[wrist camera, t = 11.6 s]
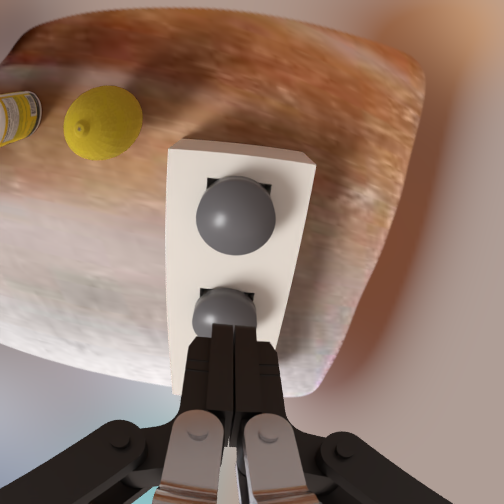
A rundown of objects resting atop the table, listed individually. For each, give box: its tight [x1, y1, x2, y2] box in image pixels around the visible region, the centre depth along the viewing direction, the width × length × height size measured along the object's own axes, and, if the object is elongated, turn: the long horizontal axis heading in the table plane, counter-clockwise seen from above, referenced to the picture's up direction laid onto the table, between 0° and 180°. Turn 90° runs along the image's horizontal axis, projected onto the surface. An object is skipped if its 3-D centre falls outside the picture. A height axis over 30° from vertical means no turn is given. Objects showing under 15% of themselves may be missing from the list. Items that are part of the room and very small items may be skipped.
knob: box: [196, 176, 276, 256], centre depth 23 cm, size 5×5×6 cm
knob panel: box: [165, 139, 316, 395], centre depth 28 cm, size 26×10×5 cm, turn 173°
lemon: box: [63, 86, 143, 160], centre depth 19 cm, size 6×6×8 cm
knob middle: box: [192, 288, 257, 338], centre depth 27 cm, size 5×5×6 cm
